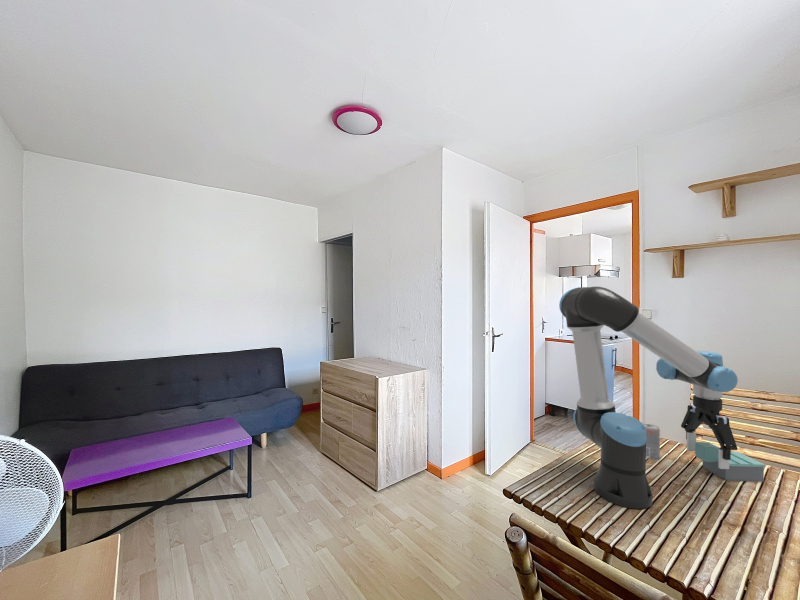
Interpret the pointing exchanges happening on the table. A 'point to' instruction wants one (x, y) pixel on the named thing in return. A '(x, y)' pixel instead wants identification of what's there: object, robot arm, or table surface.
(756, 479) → the tub
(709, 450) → the lid
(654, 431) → the energy drink
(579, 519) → the table surface
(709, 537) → the table surface
